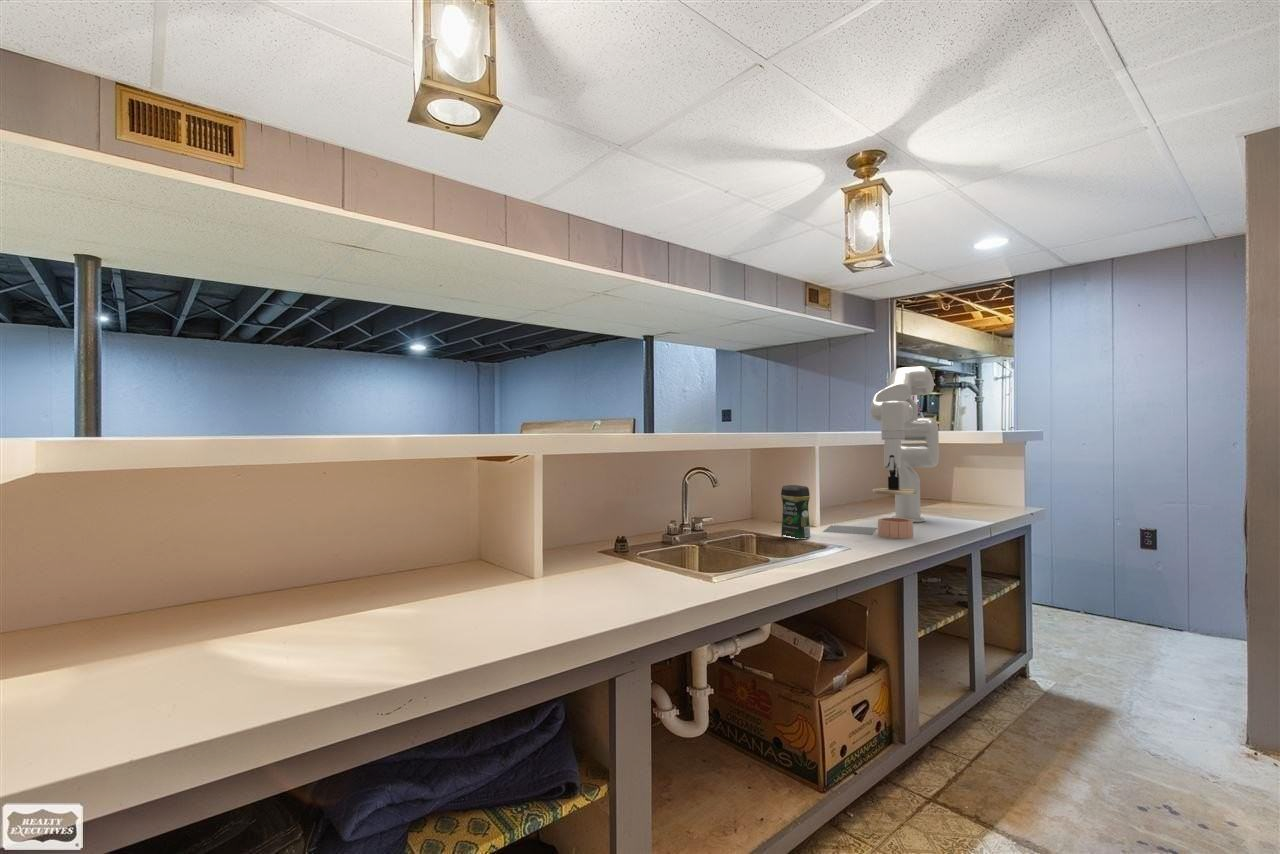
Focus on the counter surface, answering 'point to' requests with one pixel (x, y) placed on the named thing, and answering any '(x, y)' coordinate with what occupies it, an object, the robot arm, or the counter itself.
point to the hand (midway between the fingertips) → (894, 487)
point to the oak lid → (894, 490)
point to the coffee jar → (795, 511)
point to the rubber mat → (851, 529)
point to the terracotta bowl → (895, 527)
